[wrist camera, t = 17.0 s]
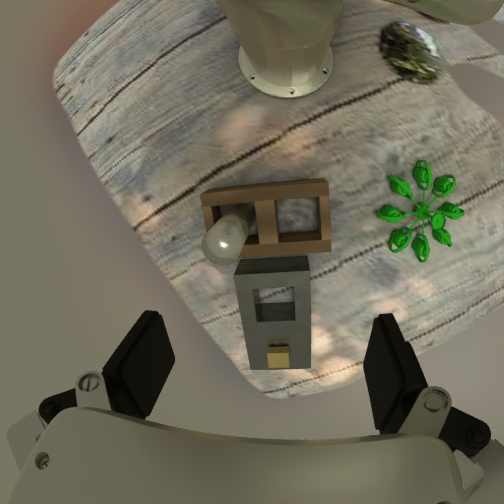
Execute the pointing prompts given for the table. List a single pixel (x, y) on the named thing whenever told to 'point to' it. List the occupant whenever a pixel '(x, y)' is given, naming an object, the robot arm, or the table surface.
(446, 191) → the chandelier
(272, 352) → the release key
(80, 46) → the table surface
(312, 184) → the frame
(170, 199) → the table surface
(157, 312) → the robot arm
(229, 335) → the table surface
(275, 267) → the socket block
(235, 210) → the grey tall cylinder
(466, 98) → the table surface
